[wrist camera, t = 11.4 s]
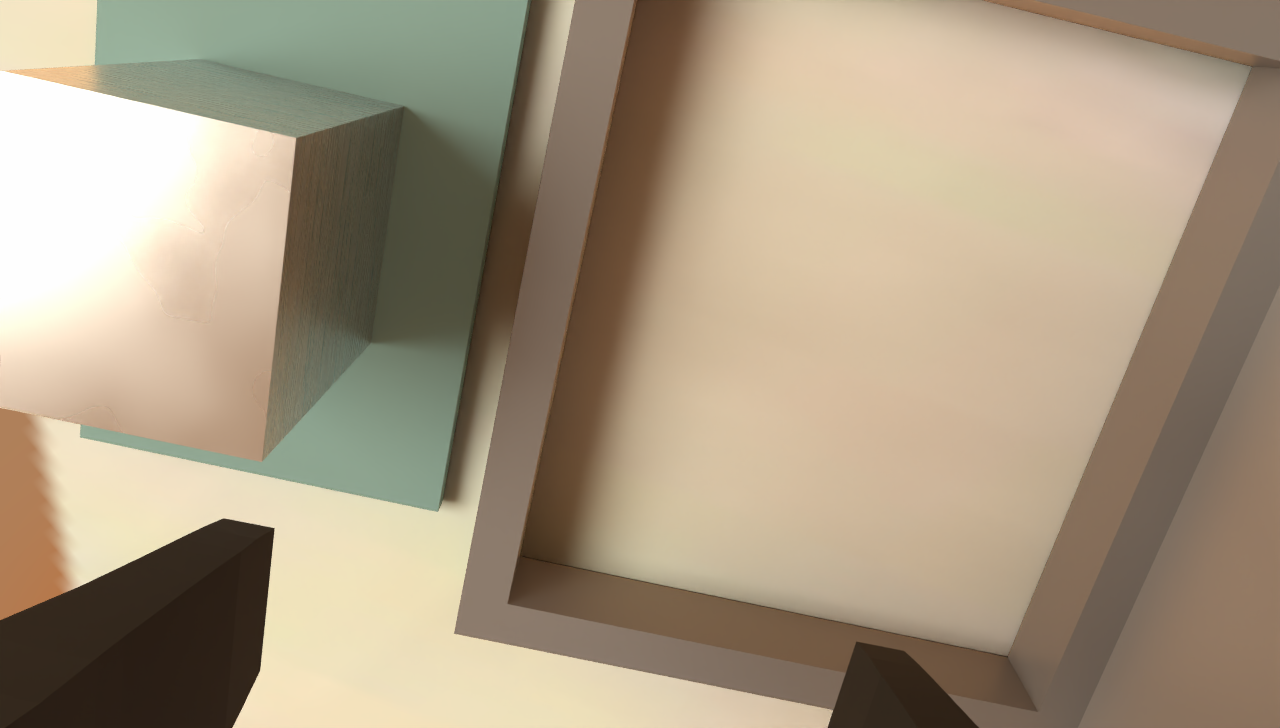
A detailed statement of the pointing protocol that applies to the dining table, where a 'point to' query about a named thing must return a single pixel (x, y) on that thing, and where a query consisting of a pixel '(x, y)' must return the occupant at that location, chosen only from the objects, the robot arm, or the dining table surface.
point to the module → (187, 247)
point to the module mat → (418, 219)
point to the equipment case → (1100, 511)
